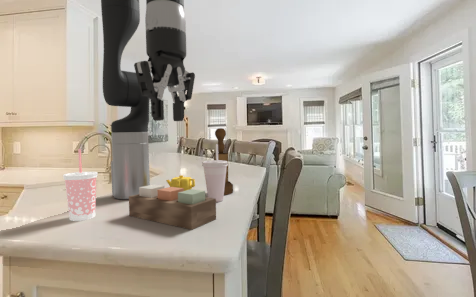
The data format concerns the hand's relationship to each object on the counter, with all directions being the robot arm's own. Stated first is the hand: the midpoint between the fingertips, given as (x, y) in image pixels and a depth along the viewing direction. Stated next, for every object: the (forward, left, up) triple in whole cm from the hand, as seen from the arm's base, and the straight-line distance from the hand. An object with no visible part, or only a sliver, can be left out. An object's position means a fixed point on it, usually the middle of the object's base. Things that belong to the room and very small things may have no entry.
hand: (168, 120), depth 56 cm
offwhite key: (-5, 0, -17) cm, 18 cm away
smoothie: (-1, +16, -20) cm, 25 cm away
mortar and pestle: (-5, +24, -20) cm, 31 cm away
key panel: (0, 0, -19) cm, 19 cm away
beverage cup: (-16, -9, -20) cm, 27 cm away
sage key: (+6, 0, -17) cm, 18 cm away
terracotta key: (0, 0, -17) cm, 17 cm away
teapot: (-14, +17, -20) cm, 30 cm away
